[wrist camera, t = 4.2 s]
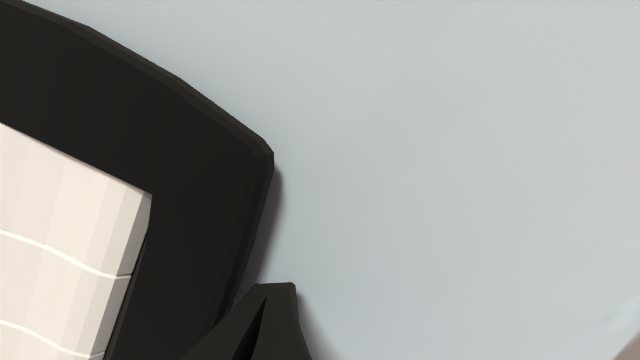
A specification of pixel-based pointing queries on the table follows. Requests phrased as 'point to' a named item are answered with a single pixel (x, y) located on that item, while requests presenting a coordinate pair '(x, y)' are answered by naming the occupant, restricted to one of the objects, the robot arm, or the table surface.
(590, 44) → the table surface
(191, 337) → the light switch
